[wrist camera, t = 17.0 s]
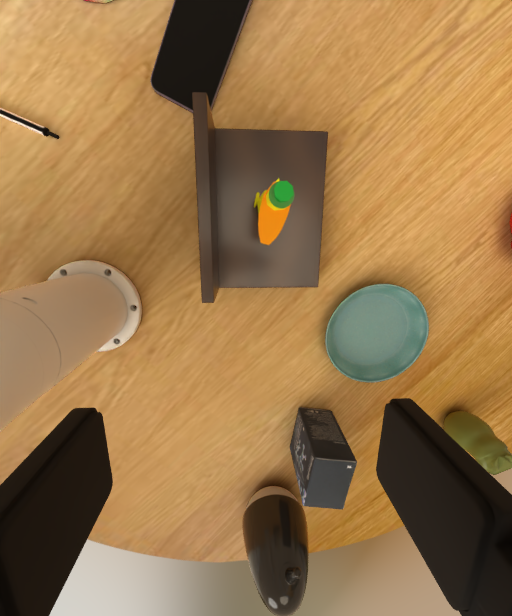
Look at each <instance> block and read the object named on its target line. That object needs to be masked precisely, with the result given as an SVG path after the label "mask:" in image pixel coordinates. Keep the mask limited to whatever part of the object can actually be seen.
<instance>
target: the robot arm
mask: <svg viewBox="0 0 512 616" xmlns="http://www.w3.org/2000/svg"><path fill="white" fill-rule="evenodd" d="M109 270H110V271H111V273H109ZM66 271H67V273H66ZM134 305H135V306H136V307H137V308H135V307H134ZM141 316H142V304H141V300H140V296H139V294H138V292H137V289H136V287H135V286H134V284H133V283H132V282H131V280H130V279H129V278H128V277H127V276H126V275H125V274H124V273H123V272H121V271H120V270H118V269H117V268H115V267H113V266H111V265H109V264H107V263H104V262H100V261H95V260H81V261H75V262H70V263H68V264H65V265H63V266H61V267H60V268H58V269H57V270H55V271H54V272H53V273H52V274H51V275H50V277H49V278H48V280H47V281H44V282H40V283H36V284H32V285H28V286H24V287H20V288H15V289H11V290H7V291H3V292H0V432H1V431H2V430H3V429H4V428H5V427H6V426H7V425H8V424H10V423H11V422H12V421H13V420H14V419H15V418H16V417H17V416H18V415H19V414H21V413H22V412H23V411H24V410H25V409H26V408H28V407H29V406H30V405H31V404H32V403H34V402H35V401H36V400H37V399H38V398H40V397H41V396H42V395H43V394H45V393H46V392H47V391H49V390H50V389H51V388H52V387H53V386H55V385H56V384H57V383H58V382H60V381H61V380H62V379H63V378H65V377H66V376H67V375H68V374H69V373H71V372H72V371H73V370H74V369H76V368H77V367H78V366H79V365H80V364H82V363H83V362H84V361H85V360H87V359H88V358H89V357H90V356H91V355H93V354H94V353H95V352H101V351H108V350H112V349H115V348H117V347H119V346H121V345H123V344H124V343H125V342H126V341H128V340H129V339H130V338H131V337H132V336H133V335H134V333H135V332H136V330H137V329H138V326H139V324H140V321H141ZM118 339H119V340H118ZM376 471H377V476H378V479H379V481H380V483H381V485H382V487H383V488H384V490H385V492H386V494H387V495H388V497H389V499H390V501H391V502H392V504H393V506H394V508H395V509H396V511H397V513H398V515H399V516H400V518H401V520H402V522H403V523H404V525H405V527H406V529H407V530H408V532H409V534H410V536H411V537H412V539H413V541H414V543H415V544H416V546H417V548H418V550H419V552H420V553H421V555H422V557H423V558H424V560H425V562H426V564H427V566H428V567H429V569H430V571H431V573H432V574H433V576H434V578H435V580H436V581H437V583H438V585H439V587H440V588H441V590H442V592H443V594H444V595H445V597H446V599H447V601H448V602H449V604H450V605H451V606H452V607H453V609H455V610H459V612H460V614H461V615H462V616H512V495H511V494H510V493H509V492H508V491H507V490H506V489H505V488H504V487H503V486H502V485H501V484H500V483H499V482H498V481H497V480H496V479H495V478H493V477H492V476H491V475H490V474H489V473H488V472H487V471H486V470H485V469H484V468H483V467H482V466H481V465H480V464H479V463H478V462H477V461H476V460H475V459H474V458H473V457H471V456H470V455H469V454H468V453H467V452H466V451H465V450H464V449H463V448H462V447H461V446H460V445H459V444H458V443H457V442H456V441H455V440H454V439H453V438H452V437H451V436H449V435H448V434H447V433H446V432H445V431H444V430H443V429H442V428H441V427H440V426H439V425H438V424H437V423H436V422H435V421H434V420H433V419H432V418H431V417H430V416H429V415H427V414H426V413H425V412H424V411H423V410H422V409H421V408H420V407H419V406H418V405H417V404H416V403H415V402H414V401H413V400H411V399H409V398H404V399H392V400H391V401H390V403H388V404H386V406H385V411H384V418H383V425H382V432H381V439H380V446H379V453H378V460H377V467H376ZM112 483H113V480H112V473H111V467H110V460H109V454H108V448H107V441H106V435H105V429H104V422H103V416H102V414H101V413H100V412H97V410H96V409H95V408H75V409H73V410H72V411H71V412H70V413H69V414H68V415H67V416H66V417H65V418H64V419H63V420H62V421H61V422H60V423H59V424H58V425H57V426H56V427H55V429H54V430H53V431H52V432H51V433H50V434H49V435H48V436H47V437H46V438H45V439H44V440H43V441H42V442H41V443H40V444H39V445H38V446H37V447H36V448H35V449H34V451H33V452H32V453H31V454H30V455H29V456H28V457H27V458H26V459H25V460H24V461H23V462H22V463H21V464H20V465H19V466H18V467H17V468H16V469H15V470H14V472H13V473H12V474H11V475H10V476H9V477H8V478H7V479H6V480H5V481H4V482H3V483H2V484H1V485H0V616H49V614H50V612H51V610H52V608H53V606H54V604H55V602H56V600H57V598H58V596H59V594H60V592H61V590H62V588H63V586H64V584H65V582H66V580H67V578H68V576H69V574H70V572H71V570H72V568H73V566H74V564H75V562H76V560H77V558H78V556H79V554H80V552H81V550H82V548H83V546H84V544H85V542H86V540H87V538H88V536H89V534H90V532H91V530H92V528H93V526H94V524H95V522H96V520H97V518H98V516H99V514H100V512H101V510H102V508H103V506H104V504H105V502H106V500H107V498H108V496H109V494H110V492H111V489H112Z"/></svg>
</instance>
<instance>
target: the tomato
mask: <svg viewBox="0 0 512 616" xmlns="http://www.w3.org/2000/svg"><path fill="white" fill-rule="evenodd" d="M510 228H511V233H512V213H511V218H510ZM511 248H512V241H511Z"/></svg>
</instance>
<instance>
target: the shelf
mask: <svg viewBox="0 0 512 616" xmlns="http://www.w3.org/2000/svg"><path fill="white" fill-rule="evenodd" d="M192 98H193V119H194V141H195V163H196V185H197V206H198V228H199V250H200V271H201V293H202V303H214V301H215V298H216V295H217V293H218V290H219V288H267V287H318V280H319V265H320V249H321V233H322V218H323V202H324V186H325V171H326V155H327V139H328V132H324V131H288V130H252V129H216V128H215V127H214V123H213V118H212V114H211V110H210V105H209V101H208V96H207V93H199V92H192ZM278 179H279V180H280V181H288V182H289V183H290V184H291V185H292V186H293V190H294V200H293V202H292V203H291V206H290V209H289V212H288V216H287V218H286V221H285V223H284V225H283V228H282V230H281V231H280V233H279V235H278V236H277V238H276V239H275V240H274V241H273V242H272V243H271V244H270V245H266V244H263V243H261V242H260V237H259V231H258V220H259V219H258V207H257V205H256V206H255V208H254V202H255V198H256V194H257V192H259V193H260V196H261V195H262V193H263V192H264V191H265V190H268V188H269V187H270V186H271V185H272V183H273V182H276V181H277V180H278ZM260 196H259V198H260Z"/></svg>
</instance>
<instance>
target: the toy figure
mask: <svg viewBox="0 0 512 616" xmlns="http://www.w3.org/2000/svg"><path fill="white" fill-rule="evenodd" d="M259 196H260V193H259V192H257V194H256V198H255V202H254V208H255V206H256V205H257V207H258V219H259V220H258V231H259V237H260V242H261V243H263V244H266V245H270V244H271V243H272V242H273V241H274V240H275V239H276V238H277V236H278V235H279V233H280V231H281V230H282V228H283V225H284V223H285V221H286V218H287V216H288V212H289V209H290V206H291V203H292V202H293V200H294V190H293V186H292V185H291V184H290V183H289V182H288V181H280V180H279V179H278V180H277V181H276V182H273V183H272V185H271V186H270V187H269V188H268V190H265V191H264V192H263V193H262V195H261V196H260V198H259Z"/></svg>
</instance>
